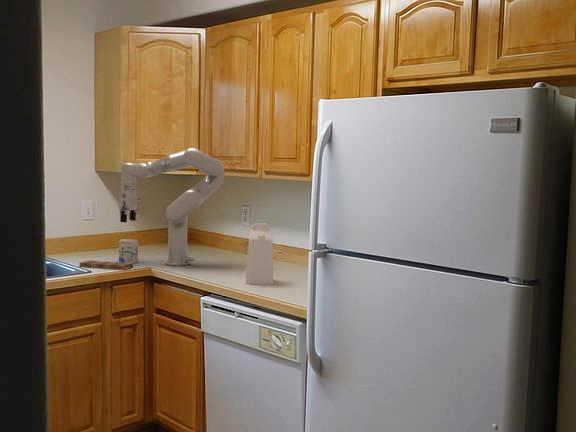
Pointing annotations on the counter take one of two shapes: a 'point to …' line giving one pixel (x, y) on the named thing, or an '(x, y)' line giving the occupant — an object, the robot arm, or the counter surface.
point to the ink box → (128, 251)
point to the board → (106, 265)
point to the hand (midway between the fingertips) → (128, 221)
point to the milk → (260, 255)
